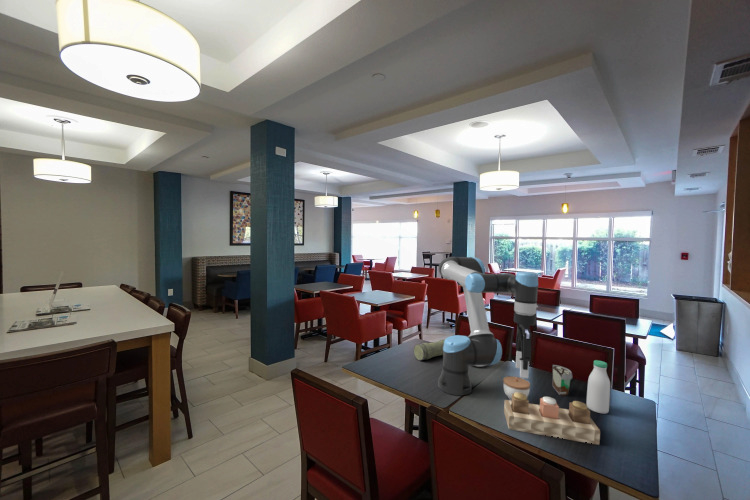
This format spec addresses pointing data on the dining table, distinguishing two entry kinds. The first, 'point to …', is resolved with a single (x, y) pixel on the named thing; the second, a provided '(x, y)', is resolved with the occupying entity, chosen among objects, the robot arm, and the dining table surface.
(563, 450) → the dining table surface
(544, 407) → the middle button
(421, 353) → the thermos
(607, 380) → the milk bottle
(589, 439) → the button mount
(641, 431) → the dining table surface
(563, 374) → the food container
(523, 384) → the lidded jar
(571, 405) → the right button
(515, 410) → the left button
